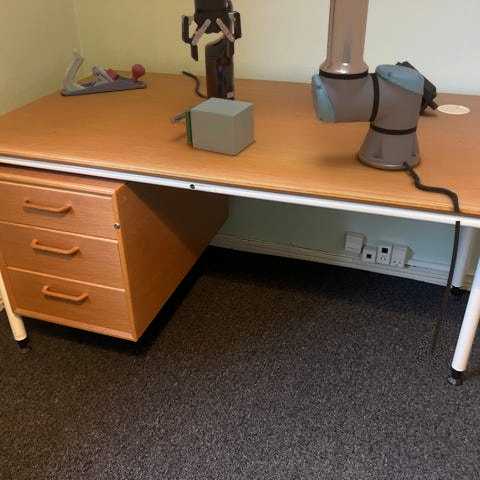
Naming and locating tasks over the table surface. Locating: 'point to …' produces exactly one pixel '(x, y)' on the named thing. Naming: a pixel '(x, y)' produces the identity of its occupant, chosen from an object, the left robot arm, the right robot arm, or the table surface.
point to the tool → (424, 90)
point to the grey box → (222, 125)
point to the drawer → (187, 116)
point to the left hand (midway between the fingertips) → (212, 58)
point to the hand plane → (105, 80)
